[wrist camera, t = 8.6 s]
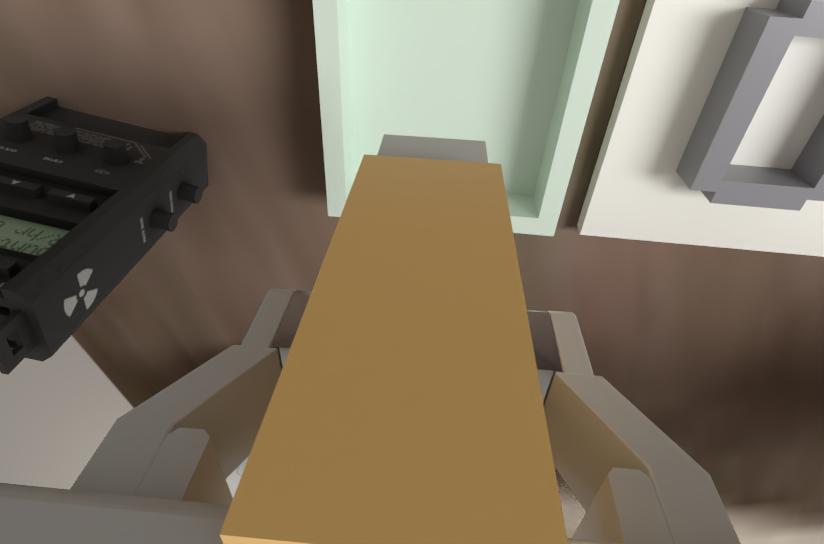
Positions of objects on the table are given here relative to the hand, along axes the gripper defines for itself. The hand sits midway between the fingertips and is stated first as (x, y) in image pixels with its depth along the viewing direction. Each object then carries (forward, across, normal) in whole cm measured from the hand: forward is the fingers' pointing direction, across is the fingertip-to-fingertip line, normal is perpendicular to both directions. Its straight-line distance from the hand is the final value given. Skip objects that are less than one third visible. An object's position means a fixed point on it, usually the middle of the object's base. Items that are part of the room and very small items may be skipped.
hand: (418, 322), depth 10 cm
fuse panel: (+17, -16, 0) cm, 23 cm away
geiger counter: (+18, +17, +4) cm, 25 cm away
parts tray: (+17, -1, 0) cm, 17 cm away
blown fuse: (+5, 0, 0) cm, 5 cm away
